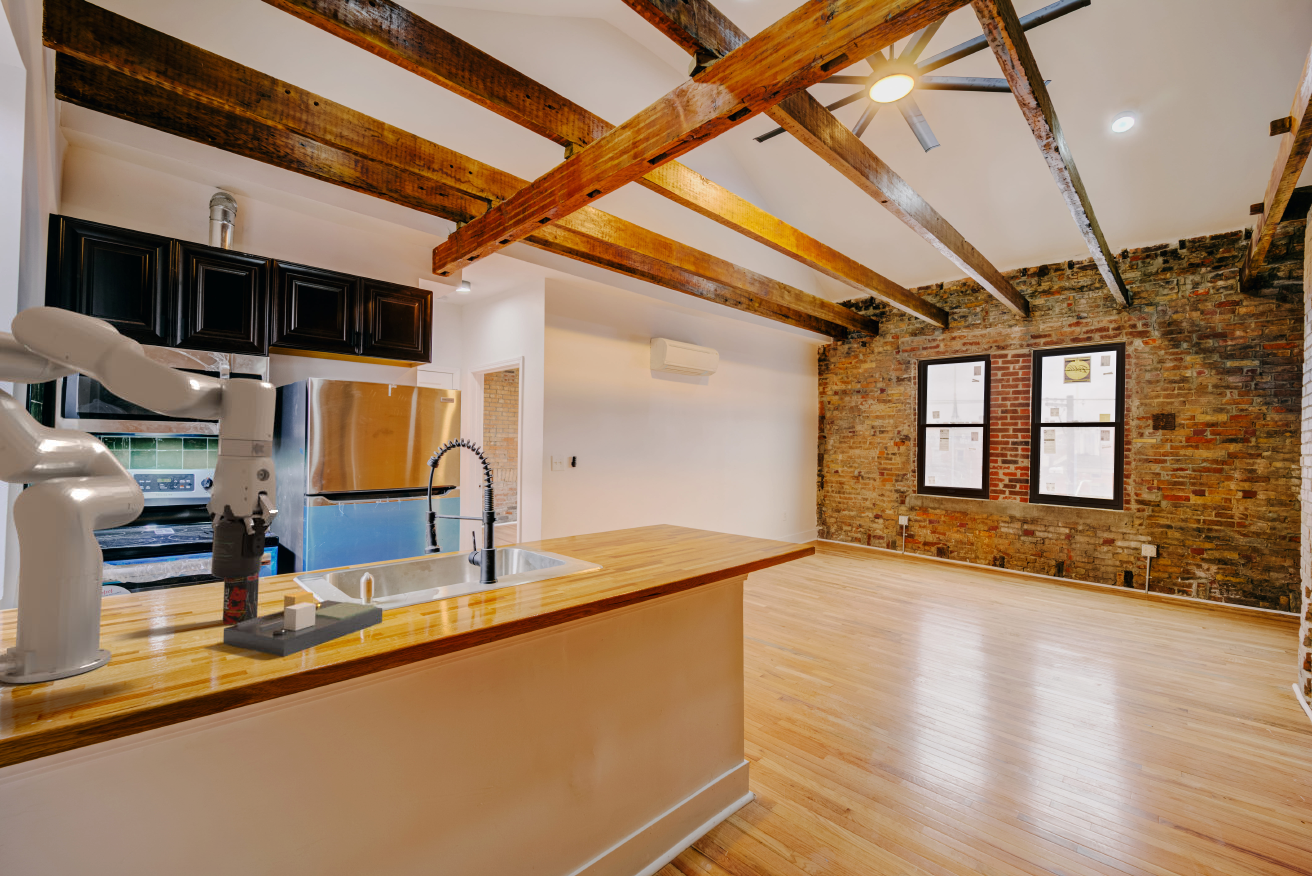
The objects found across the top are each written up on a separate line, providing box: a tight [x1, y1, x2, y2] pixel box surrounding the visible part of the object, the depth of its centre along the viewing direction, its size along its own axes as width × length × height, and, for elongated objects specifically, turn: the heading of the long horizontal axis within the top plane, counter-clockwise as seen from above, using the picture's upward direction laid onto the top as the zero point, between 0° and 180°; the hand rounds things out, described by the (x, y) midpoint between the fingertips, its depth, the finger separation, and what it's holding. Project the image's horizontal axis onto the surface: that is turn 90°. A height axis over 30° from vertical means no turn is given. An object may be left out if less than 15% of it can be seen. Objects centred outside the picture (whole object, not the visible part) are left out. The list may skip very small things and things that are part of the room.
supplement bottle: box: [210, 505, 263, 579], centre depth 95 cm, size 7×7×12 cm
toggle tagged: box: [283, 591, 314, 616], centre depth 115 cm, size 4×3×4 cm
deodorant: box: [222, 572, 260, 626], centre depth 120 cm, size 6×6×15 cm
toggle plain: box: [284, 602, 316, 631], centre depth 107 cm, size 4×3×4 cm
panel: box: [222, 599, 383, 658], centre depth 113 cm, size 22×16×4 cm
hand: (237, 553), depth 95 cm, fingers closed on supplement bottle, 6 cm apart
